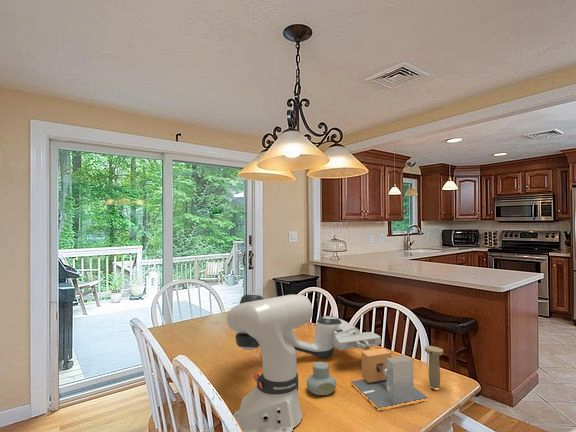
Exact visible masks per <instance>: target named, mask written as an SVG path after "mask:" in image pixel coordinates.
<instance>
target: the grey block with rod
mask: <svg viewBox="0 0 576 432" xmlns="http://www.w3.org/2000/svg"><path fill="white" fill-rule="evenodd" d="M391 357H392V358H386V368H385V367H384V366H382V365H381V364H377V365H376V369H377V370H378V371H380V372H381V373H382V374H383V375H384V376H386V377H387V399H388V400H389V401H390V402H392V403H393V404H394V405H395V404H400V403H404V402H409V401H414V388H415V387H414V369H413V367H414V359H412V358H411V357H409V356H407V355H399V356H391Z"/></svg>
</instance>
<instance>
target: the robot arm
mask: <svg viewBox="0 0 576 432" xmlns="http://www.w3.org/2000/svg"><path fill="white" fill-rule="evenodd" d="M312 304H313V303H312V302H311V301H310V299H309V298H308V296H305V295H304V294H287V295H281V296H280V295H279V296H275V297H269V298H263V296H262V295H259V294H257V293H248V294H243V296H241V297H240V300H239V304H237V305H235V306H234V307H232V308H230V309H229V311H228V313H227V315H226V322H227V325H228V327H229V328H230V329H231V330H233V331H235V343H236V346H238V347H239V348H240V349H242V350H247V351H251V350H254V349H258V348H260V351H261V356H262V358H261V359H262V373H261V374H259V373H258V372H255V373H253V376H252V377H253V380H254V381H255V382H256V386H255V387H254V388H253V389H252V390H250V391H249V392H248V393H247V394H246V395H245V396H243V398H241V399H242V400H241V402H240V406H239V409H238V410H235V412H234V414H233V415H232V417H233V416H234V418H235V419H236V421H237V422H238V424H239V425H240V427H241V429H242V430H243V432H292V431H293V428H294V426H295V425H297V424H298V423H299V422H300V421H301V419H302V420H303V418H302V417H303V413H302V410H301V405H300V401H299V392H298V391H299V386H300V385H299V383H300V382H299V379H300V378H299V373H298V372H297V370H298V369H297V365H298V364H297V360H298V359H297V351H298V352H302V353H306V354H309V355H312V356H316V357H317V358H318V357H319V358H321V359H329V358H330V357H332V356H333V355H334V354H335V348H336V349H337V350H339V351H346V350H354V349H361V350H363V351H367V350H371V347H372V346H373V347H374V346H380V345H381V344H382V343H381V342H382V339H381V338H382V337H381V335H379V334H377V333H374V332H371V331H366V332H365V331H364V332H361V331H360V329H358V328H357V327H355V326H354V325H353V324H350V323H349V322H347V321H346V320H344V319H341V318H337V317H336V316H333V315H323V316H321V317H320V318H318V319H317V320H316V326H315V332H314V334H315V335H314V338H313V342H311V343H310V342H307V341H304V340H303V341H302V340H300V339H297V337H296V334H295V329H297V328H300V327H302V326H304V325H305V324H307V323H309V322H310V321H311V319H312V317H313V312H314V311H313V305H312ZM301 422H302V421H301ZM293 432H294V431H293Z"/></svg>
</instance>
